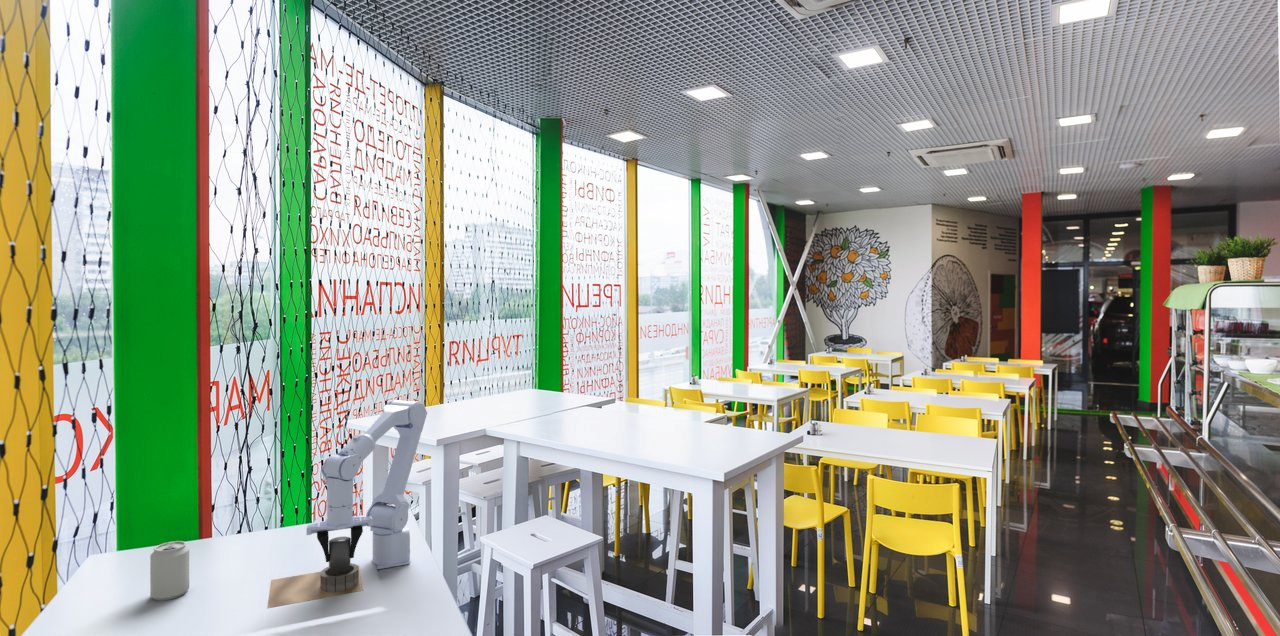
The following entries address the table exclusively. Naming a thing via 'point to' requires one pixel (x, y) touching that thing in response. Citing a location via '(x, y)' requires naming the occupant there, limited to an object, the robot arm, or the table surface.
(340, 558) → the dark gray cylinder
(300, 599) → the barrel mount
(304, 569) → the table surface
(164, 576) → the can
